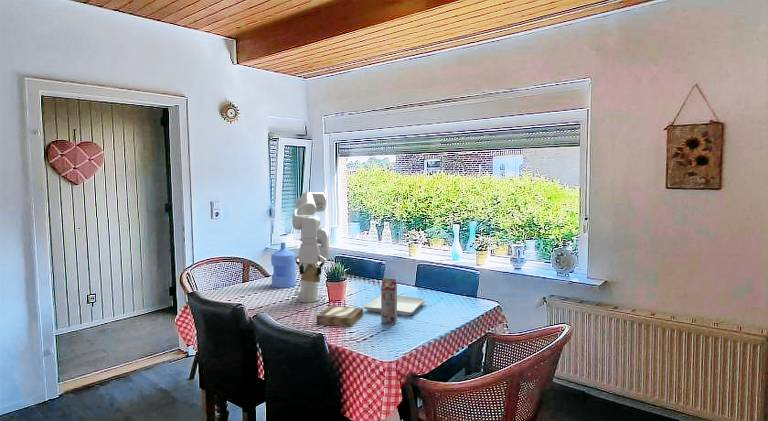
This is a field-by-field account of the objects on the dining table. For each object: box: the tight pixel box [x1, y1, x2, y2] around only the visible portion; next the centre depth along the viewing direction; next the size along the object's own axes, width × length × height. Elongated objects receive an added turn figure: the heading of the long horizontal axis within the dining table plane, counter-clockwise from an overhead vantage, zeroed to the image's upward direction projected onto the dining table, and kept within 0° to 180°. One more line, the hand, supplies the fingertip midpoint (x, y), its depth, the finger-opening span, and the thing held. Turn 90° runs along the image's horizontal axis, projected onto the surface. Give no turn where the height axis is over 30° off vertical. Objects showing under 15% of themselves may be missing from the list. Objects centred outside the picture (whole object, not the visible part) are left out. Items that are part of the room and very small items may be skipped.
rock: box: [300, 264, 321, 283], centre depth 244 cm, size 11×9×10 cm
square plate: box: [363, 294, 427, 316], centre depth 261 cm, size 27×27×4 cm
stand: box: [315, 305, 364, 327], centre depth 241 cm, size 18×18×4 cm
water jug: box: [270, 242, 297, 289], centre depth 313 cm, size 16×16×28 cm
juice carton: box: [380, 277, 398, 326], centre depth 235 cm, size 7×7×22 cm
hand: (310, 274), depth 244 cm, fingers closed on rock, 9 cm apart
